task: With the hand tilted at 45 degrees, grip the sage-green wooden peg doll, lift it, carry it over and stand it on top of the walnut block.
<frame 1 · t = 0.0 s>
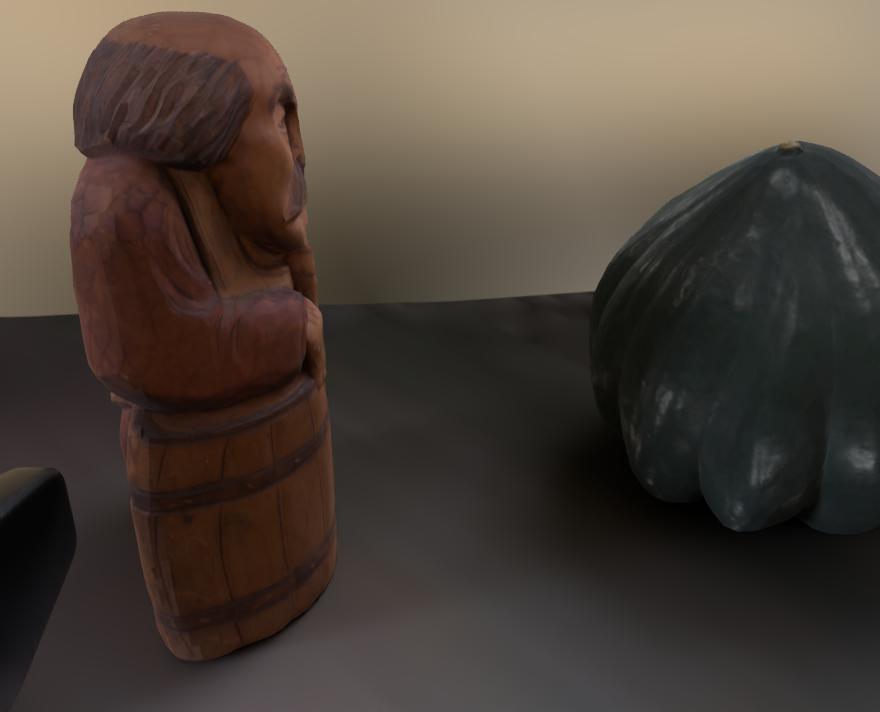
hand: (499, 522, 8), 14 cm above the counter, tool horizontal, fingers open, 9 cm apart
squash: (749, 477, 35), on the counter
wooden figurine: (248, 549, 30), on the counter
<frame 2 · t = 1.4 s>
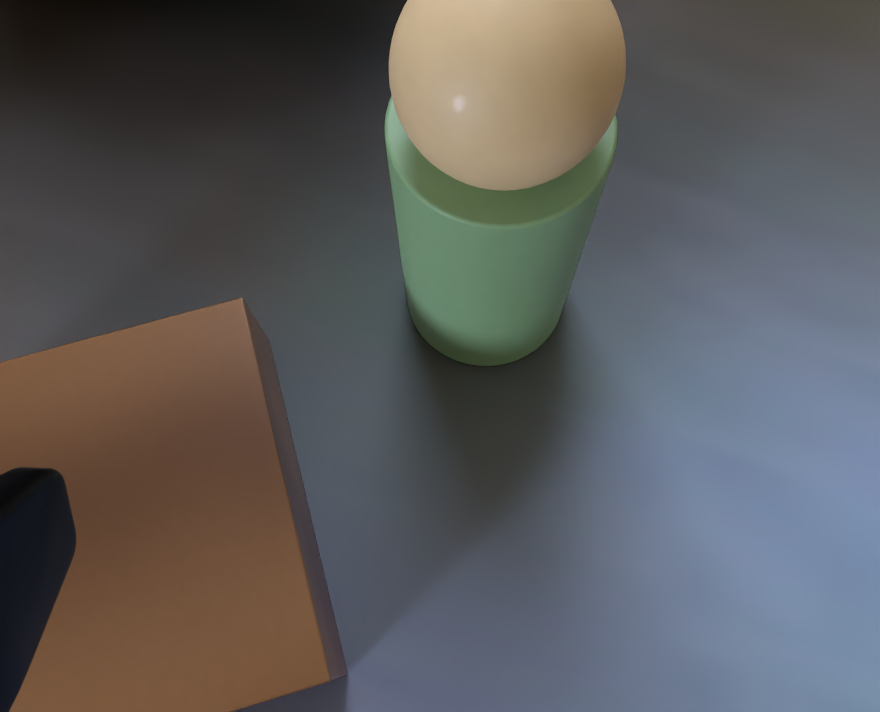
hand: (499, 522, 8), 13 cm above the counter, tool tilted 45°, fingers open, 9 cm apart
peg doll: (484, 292, 23), on the counter
walnut block: (133, 545, 21), on the counter
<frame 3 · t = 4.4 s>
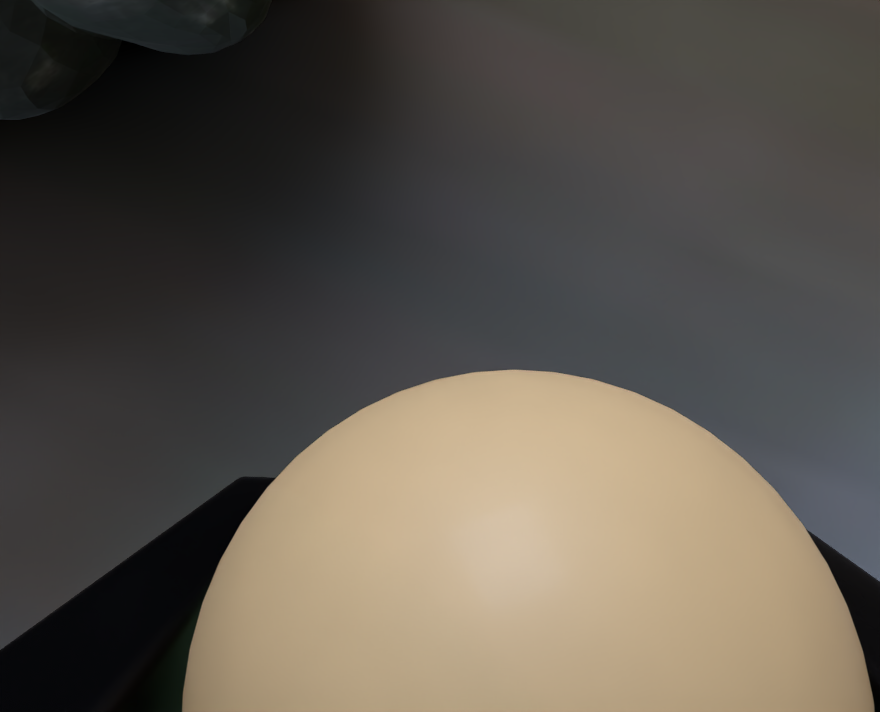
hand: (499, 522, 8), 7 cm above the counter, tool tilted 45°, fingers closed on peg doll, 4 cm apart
peg doll: (475, 650, 14), on the counter, touching gripper
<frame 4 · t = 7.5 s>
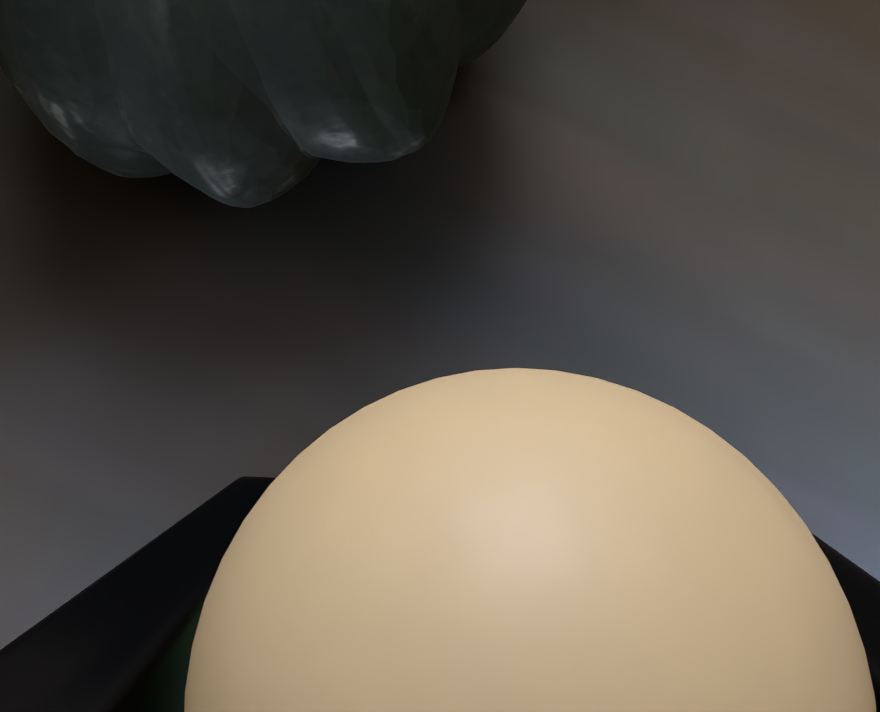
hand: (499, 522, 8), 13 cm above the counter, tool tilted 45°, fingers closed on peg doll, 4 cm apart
peg doll: (476, 650, 14), point 6 cm above the counter, touching gripper
squash: (290, 58, 26), on the counter
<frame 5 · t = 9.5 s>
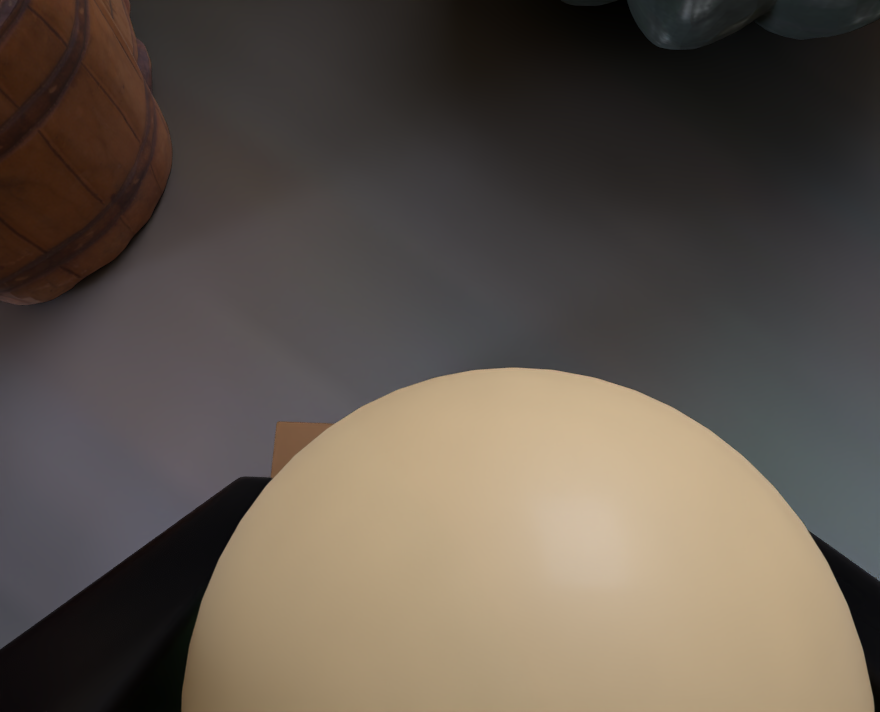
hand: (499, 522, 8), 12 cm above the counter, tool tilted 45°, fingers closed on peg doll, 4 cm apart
peg doll: (475, 650, 14), point 6 cm above the counter, touching gripper
walnut block: (468, 641, 20), on the counter
wooden figurine: (64, 133, 24), on the counter
when the fingers open (10 cm above the counter, at t = 10.9 s): peg doll stays where it is, resting on walnut block.
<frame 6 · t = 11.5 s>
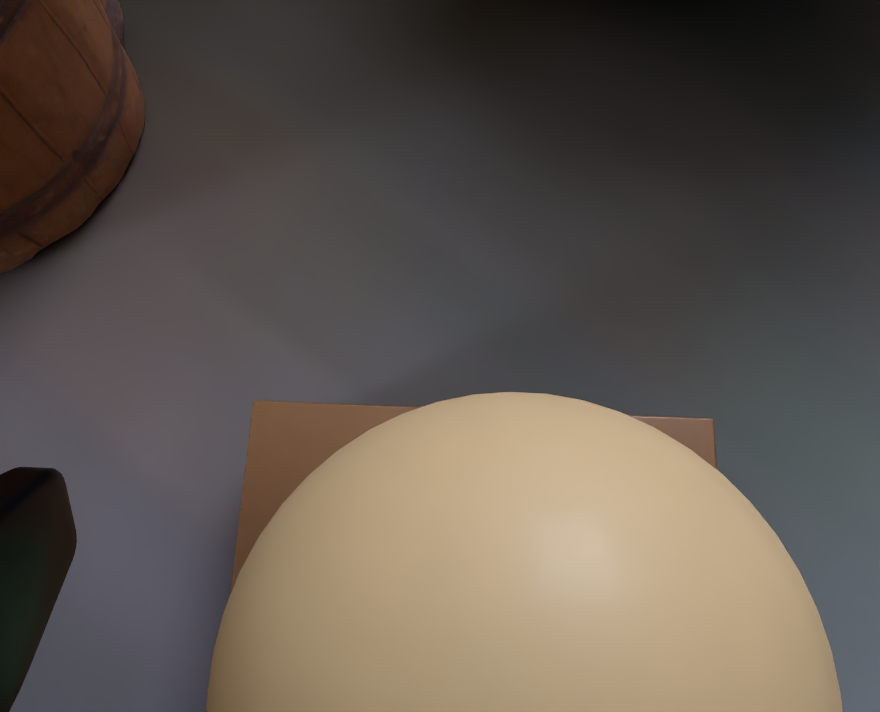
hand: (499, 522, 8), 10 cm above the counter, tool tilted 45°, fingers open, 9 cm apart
peg doll: (475, 652, 15), point 3 cm above the counter, touching walnut block
walnut block: (471, 650, 17), on the counter
wooden figurine: (27, 91, 22), on the counter
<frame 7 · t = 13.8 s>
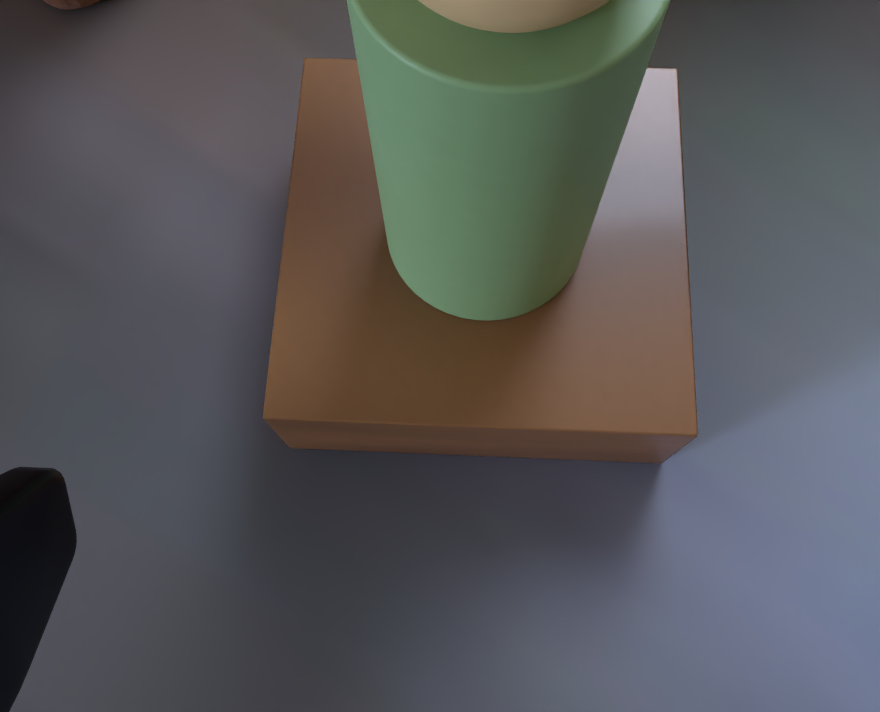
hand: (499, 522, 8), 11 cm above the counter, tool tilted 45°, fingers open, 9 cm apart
peg doll: (485, 229, 18), point 3 cm above the counter, touching walnut block
walnut block: (480, 284, 21), on the counter
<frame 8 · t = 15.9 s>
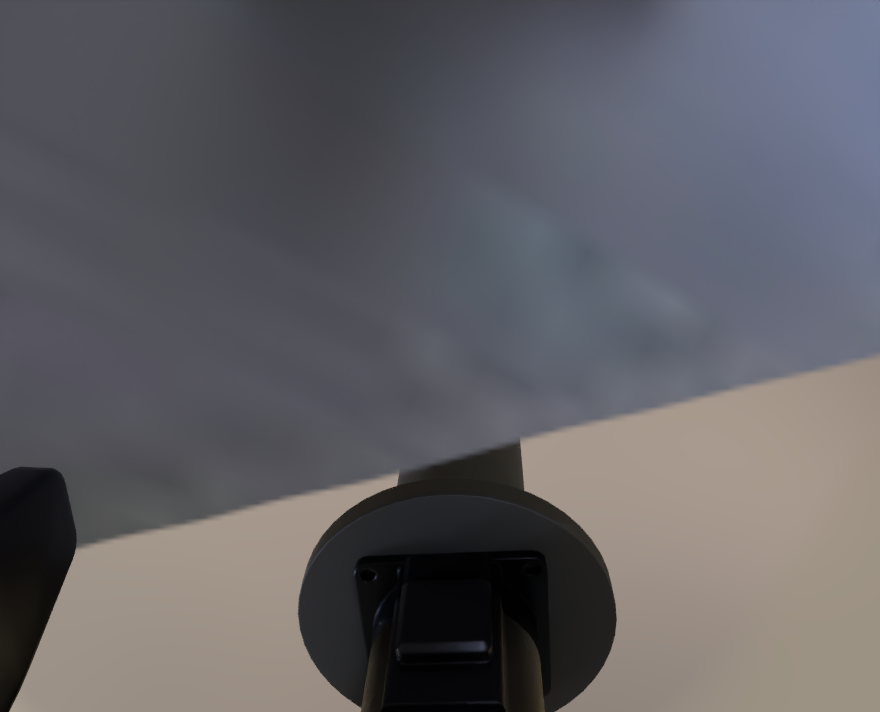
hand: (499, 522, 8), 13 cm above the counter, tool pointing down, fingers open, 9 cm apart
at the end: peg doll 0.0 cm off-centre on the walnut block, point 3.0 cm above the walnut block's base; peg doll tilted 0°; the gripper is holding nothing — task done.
